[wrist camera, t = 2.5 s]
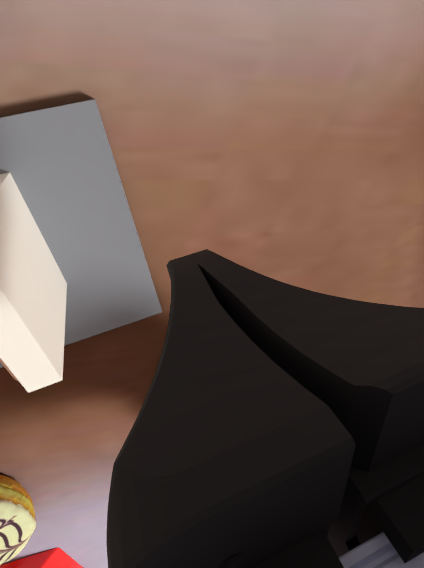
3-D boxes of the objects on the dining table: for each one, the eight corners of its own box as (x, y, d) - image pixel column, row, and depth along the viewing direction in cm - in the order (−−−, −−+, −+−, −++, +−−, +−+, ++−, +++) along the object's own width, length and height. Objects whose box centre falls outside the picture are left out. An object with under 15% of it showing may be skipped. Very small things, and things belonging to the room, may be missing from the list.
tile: (67, 283, 17) (62, 380, 12) (38, 292, 17) (19, 395, 11) (9, 172, 14) (-37, 234, 8) (-28, 180, 13) (-102, 251, 8)
